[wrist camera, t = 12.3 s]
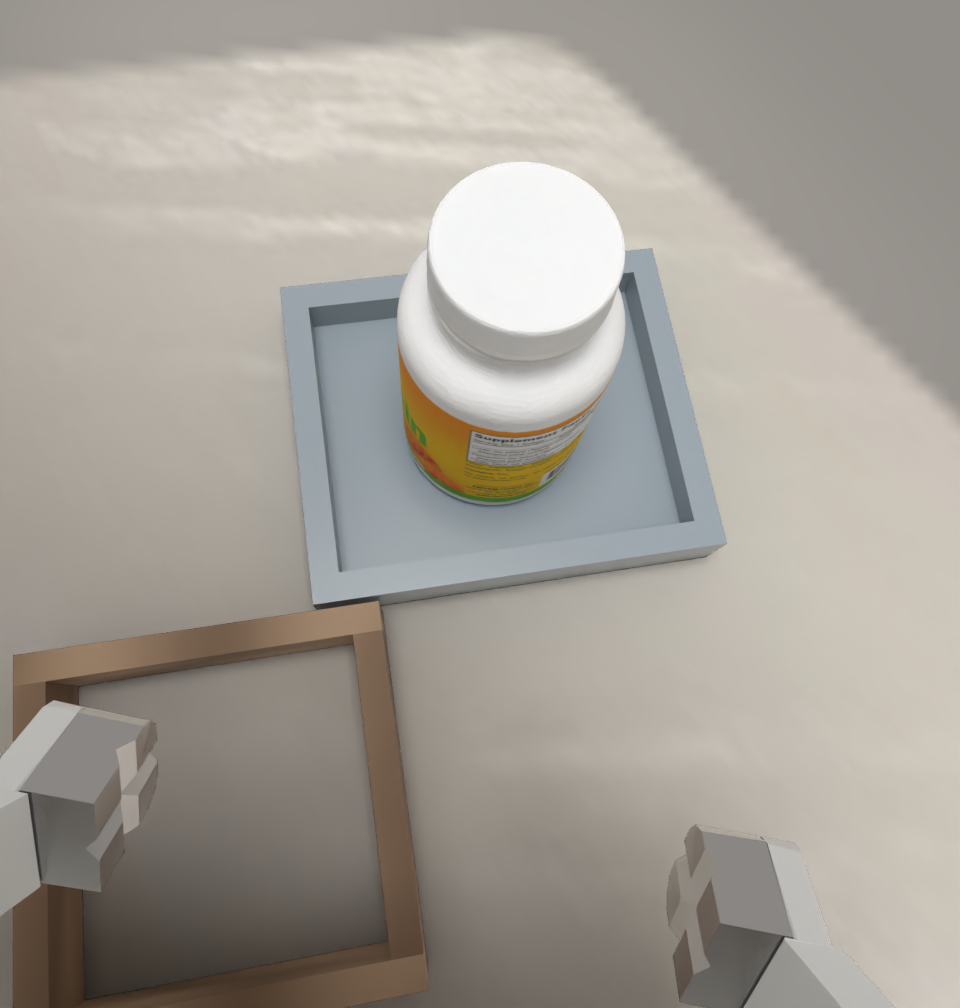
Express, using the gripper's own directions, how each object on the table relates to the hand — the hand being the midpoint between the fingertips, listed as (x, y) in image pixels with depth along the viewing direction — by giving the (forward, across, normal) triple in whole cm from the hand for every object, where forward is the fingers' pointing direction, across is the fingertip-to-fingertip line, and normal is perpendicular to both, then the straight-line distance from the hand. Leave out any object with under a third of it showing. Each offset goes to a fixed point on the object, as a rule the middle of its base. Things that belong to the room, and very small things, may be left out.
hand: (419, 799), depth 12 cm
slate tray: (+15, 0, 0) cm, 15 cm away
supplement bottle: (+15, 0, 0) cm, 15 cm away
